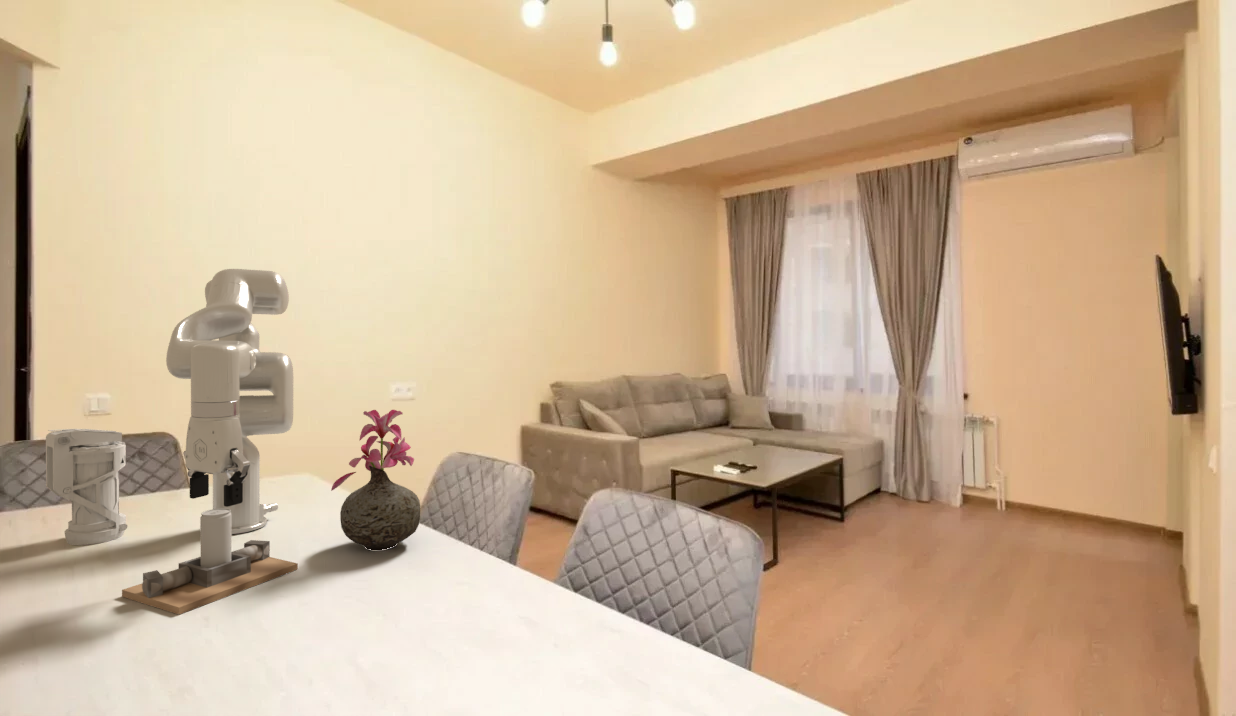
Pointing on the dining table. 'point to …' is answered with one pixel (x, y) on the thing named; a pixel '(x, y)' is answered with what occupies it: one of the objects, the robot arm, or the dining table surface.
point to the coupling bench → (209, 579)
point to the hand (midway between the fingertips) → (216, 500)
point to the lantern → (87, 481)
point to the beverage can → (215, 537)
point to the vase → (380, 492)
